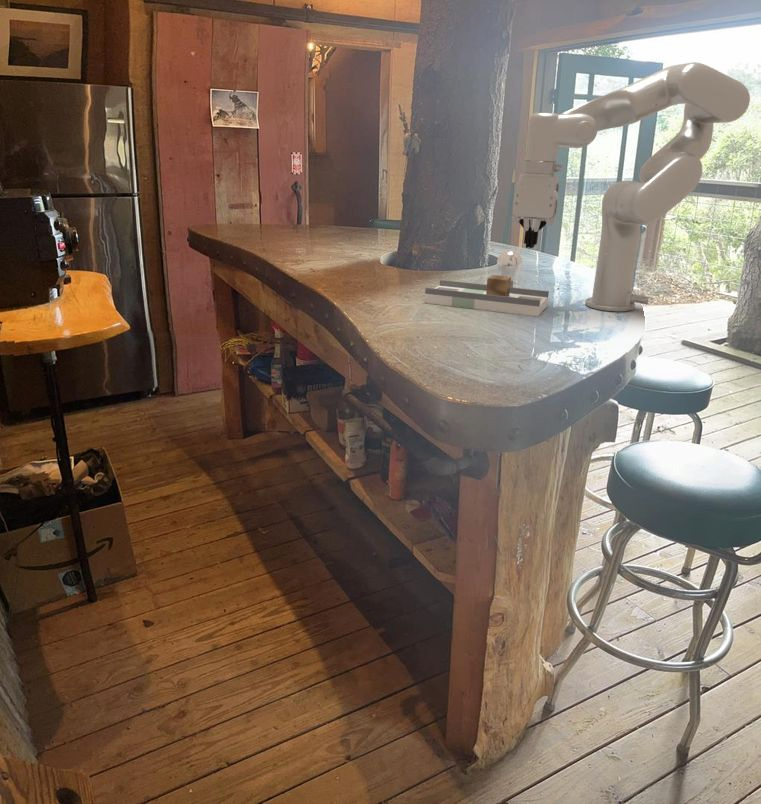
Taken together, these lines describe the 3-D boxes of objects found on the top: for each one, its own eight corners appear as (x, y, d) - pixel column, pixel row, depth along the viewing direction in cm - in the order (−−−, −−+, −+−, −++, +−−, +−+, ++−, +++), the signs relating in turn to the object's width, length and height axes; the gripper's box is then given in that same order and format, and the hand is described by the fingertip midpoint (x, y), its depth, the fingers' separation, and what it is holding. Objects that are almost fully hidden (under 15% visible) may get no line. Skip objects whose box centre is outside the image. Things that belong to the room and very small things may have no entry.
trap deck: (547, 306, 172) (548, 291, 170) (538, 316, 161) (539, 300, 160) (439, 294, 183) (440, 279, 181) (424, 302, 172) (425, 287, 171)
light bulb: (500, 294, 184) (504, 251, 179) (490, 289, 190) (494, 247, 185) (523, 293, 186) (527, 250, 181) (512, 288, 192) (516, 246, 187)
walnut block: (509, 295, 171) (511, 276, 169) (504, 299, 167) (506, 280, 165) (490, 293, 173) (492, 274, 171) (485, 297, 169) (487, 278, 167)
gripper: (573, 170, 156) (562, 248, 163) (512, 167, 161) (504, 242, 168) (568, 171, 149) (557, 252, 156) (504, 168, 155) (496, 246, 162)
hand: (529, 247), depth 162 cm, fingers closed
